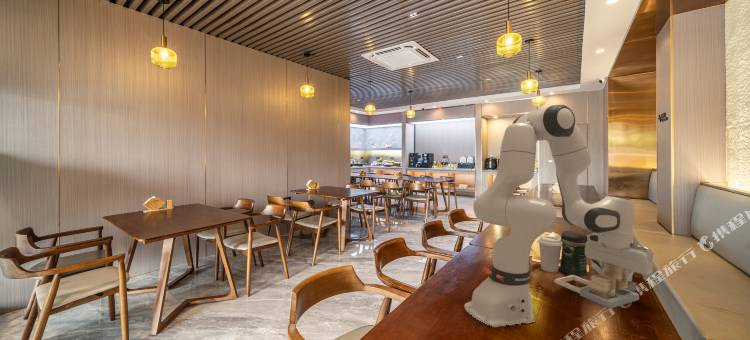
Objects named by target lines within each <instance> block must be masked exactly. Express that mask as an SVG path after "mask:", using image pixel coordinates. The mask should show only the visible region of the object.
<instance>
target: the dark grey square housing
mask: <svg viewBox="0 0 750 340" xmlns="http://www.w3.org/2000/svg"><path fill="white" fill-rule="evenodd" d="M625 289H626V290H629V291H632V292H634V293H635V292H637V282H634V281H633V280H632V281H629V282H628V287H627V288H625Z"/></svg>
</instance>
